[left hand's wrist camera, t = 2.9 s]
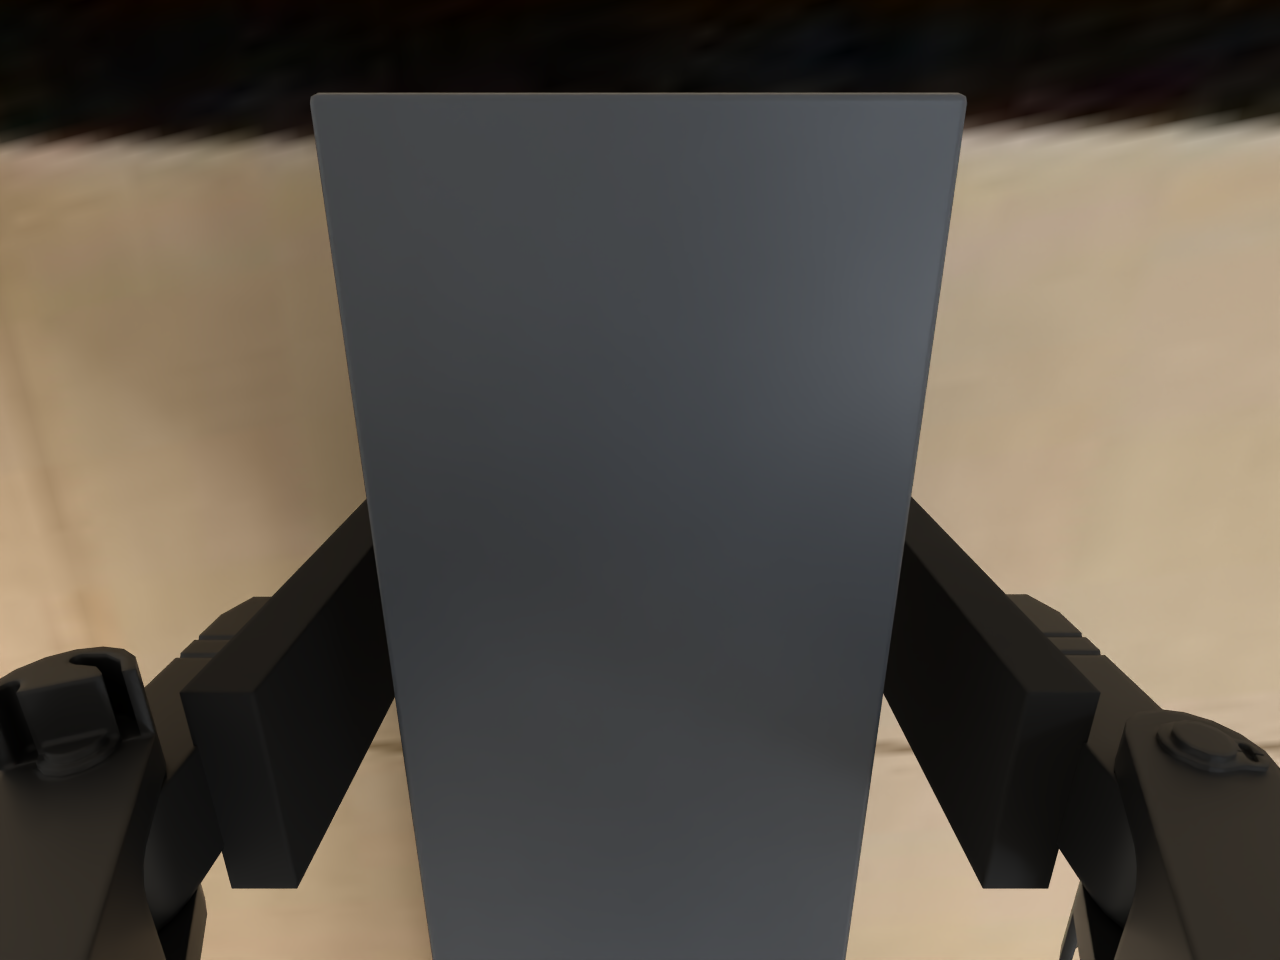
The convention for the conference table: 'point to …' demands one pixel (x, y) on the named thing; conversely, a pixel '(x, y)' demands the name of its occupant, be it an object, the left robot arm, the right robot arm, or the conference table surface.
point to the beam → (638, 493)
